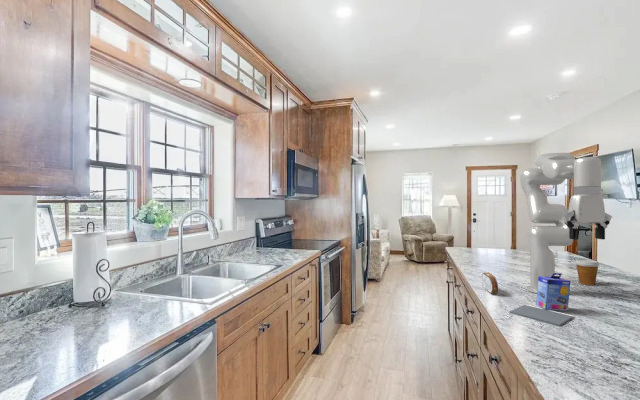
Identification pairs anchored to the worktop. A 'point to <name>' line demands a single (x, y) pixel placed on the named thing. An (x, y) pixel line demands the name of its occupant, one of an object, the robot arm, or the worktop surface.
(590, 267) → the disposable coffee cup
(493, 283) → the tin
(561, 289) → the ink cartridge box
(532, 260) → the robot arm
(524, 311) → the mat
